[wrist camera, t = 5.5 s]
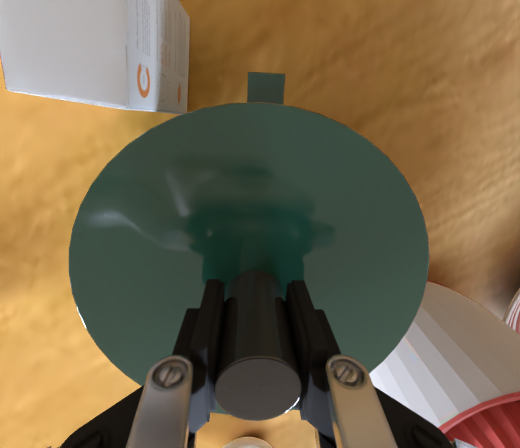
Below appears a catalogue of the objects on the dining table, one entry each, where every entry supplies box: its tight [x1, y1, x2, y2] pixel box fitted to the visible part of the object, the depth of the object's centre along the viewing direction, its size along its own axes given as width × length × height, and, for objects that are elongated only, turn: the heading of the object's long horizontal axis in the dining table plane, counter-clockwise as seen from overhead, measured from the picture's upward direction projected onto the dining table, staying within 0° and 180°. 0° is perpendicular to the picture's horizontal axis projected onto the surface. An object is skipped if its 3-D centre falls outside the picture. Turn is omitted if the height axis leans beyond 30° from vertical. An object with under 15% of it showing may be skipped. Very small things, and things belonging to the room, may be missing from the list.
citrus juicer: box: [369, 280, 520, 448], centre depth 26 cm, size 16×17×20 cm
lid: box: [69, 102, 429, 421], centre depth 11 cm, size 17×17×6 cm
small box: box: [0, 0, 190, 114], centre depth 18 cm, size 8×6×13 cm
